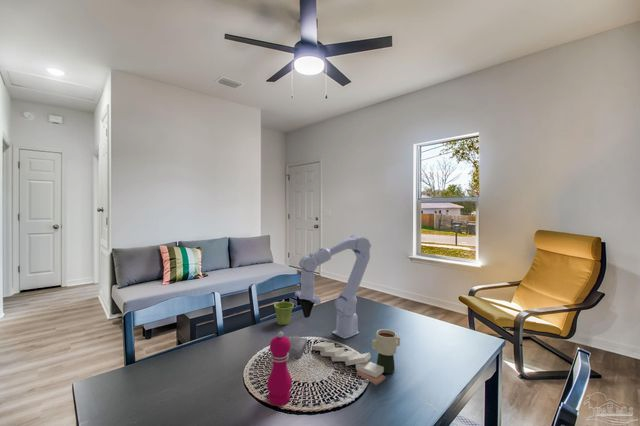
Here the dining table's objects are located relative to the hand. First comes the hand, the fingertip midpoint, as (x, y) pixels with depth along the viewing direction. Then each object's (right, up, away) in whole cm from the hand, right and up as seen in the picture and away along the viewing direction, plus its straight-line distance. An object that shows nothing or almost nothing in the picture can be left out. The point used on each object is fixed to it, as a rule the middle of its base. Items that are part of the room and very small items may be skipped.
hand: (306, 316), depth 125 cm
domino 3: (+11, -10, -14) cm, 21 cm away
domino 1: (+4, -9, -6) cm, 12 cm away
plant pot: (-12, -9, +18) cm, 23 cm away
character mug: (+28, -11, -21) cm, 37 cm away
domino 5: (+20, -9, -21) cm, 30 cm away
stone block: (-5, -11, -8) cm, 15 cm away
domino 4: (+16, -10, -17) cm, 26 cm away
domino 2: (+8, -10, -11) cm, 16 cm away
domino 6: (+20, -11, -22) cm, 32 cm away
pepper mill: (-6, -11, -38) cm, 40 cm away
